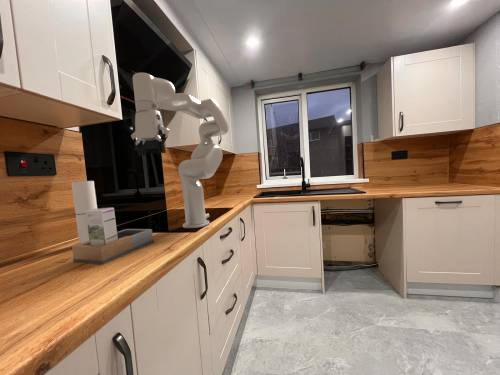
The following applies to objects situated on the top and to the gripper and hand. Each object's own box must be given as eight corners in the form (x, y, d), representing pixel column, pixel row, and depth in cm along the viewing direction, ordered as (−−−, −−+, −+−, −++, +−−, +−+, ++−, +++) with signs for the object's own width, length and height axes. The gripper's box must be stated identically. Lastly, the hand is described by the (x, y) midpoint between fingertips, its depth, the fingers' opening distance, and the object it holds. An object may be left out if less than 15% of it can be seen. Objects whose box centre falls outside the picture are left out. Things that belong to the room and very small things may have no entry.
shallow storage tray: (127, 241, 88) (126, 229, 88) (153, 242, 84) (152, 229, 83) (73, 261, 69) (71, 246, 69) (103, 264, 65) (101, 247, 65)
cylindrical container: (75, 247, 85) (66, 182, 84) (85, 242, 92) (77, 182, 91) (96, 245, 87) (88, 181, 85) (104, 239, 94) (97, 180, 92)
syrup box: (120, 249, 75) (114, 206, 74) (107, 255, 69) (101, 209, 68) (104, 249, 76) (99, 207, 75) (90, 256, 70) (84, 210, 69)
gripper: (172, 107, 85) (176, 152, 86) (137, 114, 91) (142, 156, 92) (158, 101, 78) (163, 151, 79) (121, 110, 84) (126, 156, 85)
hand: (151, 154), depth 85 cm, fingers open, 9 cm apart
